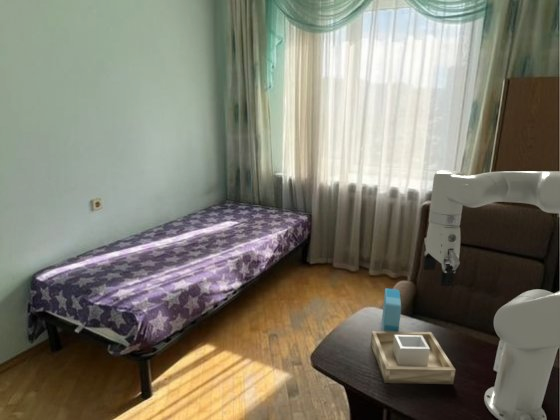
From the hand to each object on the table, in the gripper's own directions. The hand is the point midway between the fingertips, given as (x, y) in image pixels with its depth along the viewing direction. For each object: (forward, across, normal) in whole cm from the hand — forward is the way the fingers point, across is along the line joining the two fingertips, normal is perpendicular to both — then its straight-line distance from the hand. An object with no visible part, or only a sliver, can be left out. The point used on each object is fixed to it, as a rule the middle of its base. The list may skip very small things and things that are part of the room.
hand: (437, 277), depth 97 cm
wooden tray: (+25, -3, +7) cm, 26 cm away
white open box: (+24, -3, +7) cm, 25 cm away
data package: (+25, +13, +7) cm, 29 cm away
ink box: (+26, -9, -19) cm, 33 cm away
